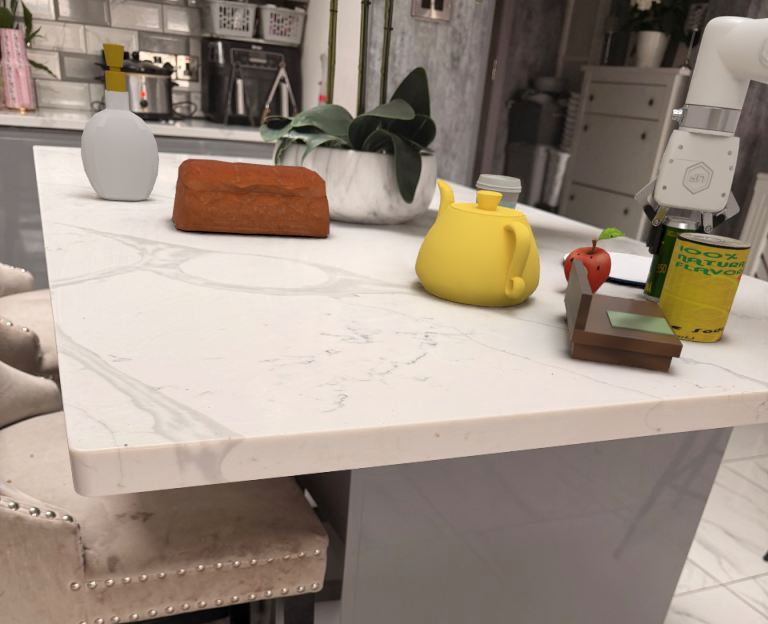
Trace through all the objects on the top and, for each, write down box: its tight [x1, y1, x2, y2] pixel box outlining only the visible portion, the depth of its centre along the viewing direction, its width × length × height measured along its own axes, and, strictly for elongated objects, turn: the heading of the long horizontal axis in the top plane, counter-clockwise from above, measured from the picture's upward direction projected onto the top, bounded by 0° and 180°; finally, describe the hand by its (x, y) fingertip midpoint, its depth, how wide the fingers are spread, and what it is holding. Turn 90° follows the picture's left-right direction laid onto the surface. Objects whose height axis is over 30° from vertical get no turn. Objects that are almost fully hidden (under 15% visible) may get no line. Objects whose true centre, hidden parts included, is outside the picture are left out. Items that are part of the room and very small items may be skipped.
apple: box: [563, 227, 626, 294], centre depth 114 cm, size 8×7×10 cm
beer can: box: [643, 215, 700, 304], centre depth 116 cm, size 5×5×12 cm
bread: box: [171, 158, 331, 238], centre depth 133 cm, size 16×27×11 cm, turn 109°
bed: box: [563, 259, 684, 373], centre depth 93 cm, size 12×20×8 cm, turn 170°
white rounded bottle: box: [80, 42, 160, 202], centre depth 143 cm, size 14×9×26 cm, turn 118°
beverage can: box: [657, 232, 752, 343], centre depth 100 cm, size 9×9×12 cm
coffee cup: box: [475, 173, 522, 210], centre depth 143 cm, size 8×8×12 cm
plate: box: [562, 251, 653, 287], centre depth 135 cm, size 25×25×1 cm
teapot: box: [414, 179, 541, 307], centre depth 108 cm, size 25×18×14 cm
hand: (672, 254), depth 115 cm, fingers closed on beer can, 5 cm apart
